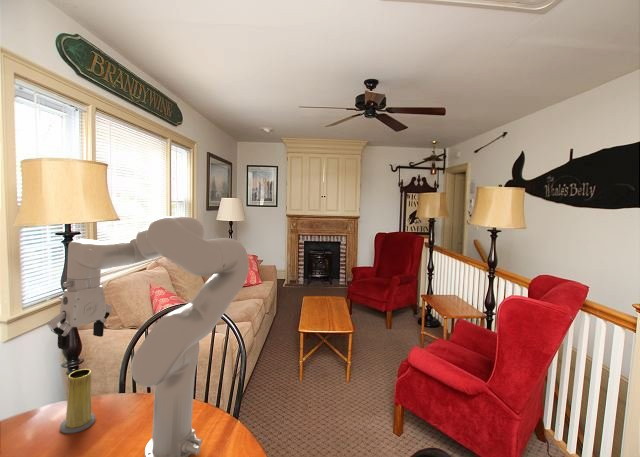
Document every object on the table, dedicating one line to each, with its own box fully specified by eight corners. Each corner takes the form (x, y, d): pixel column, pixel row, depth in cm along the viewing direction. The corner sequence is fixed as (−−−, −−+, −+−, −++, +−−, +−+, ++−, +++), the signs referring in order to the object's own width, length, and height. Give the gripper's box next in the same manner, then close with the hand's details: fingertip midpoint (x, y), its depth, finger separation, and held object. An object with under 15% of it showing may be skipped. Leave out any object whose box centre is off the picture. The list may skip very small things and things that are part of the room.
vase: (97, 415, 91) (98, 369, 91) (79, 429, 85) (80, 380, 85) (78, 412, 92) (79, 366, 91) (59, 427, 86) (60, 377, 85)
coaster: (101, 418, 91) (102, 416, 91) (73, 436, 84) (74, 433, 84) (82, 412, 94) (82, 409, 94) (52, 429, 86) (53, 426, 86)
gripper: (60, 291, 78) (58, 357, 78) (121, 279, 94) (119, 333, 95) (39, 287, 80) (37, 351, 80) (102, 276, 96) (100, 329, 97)
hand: (81, 342), depth 88 cm, fingers open, 9 cm apart
